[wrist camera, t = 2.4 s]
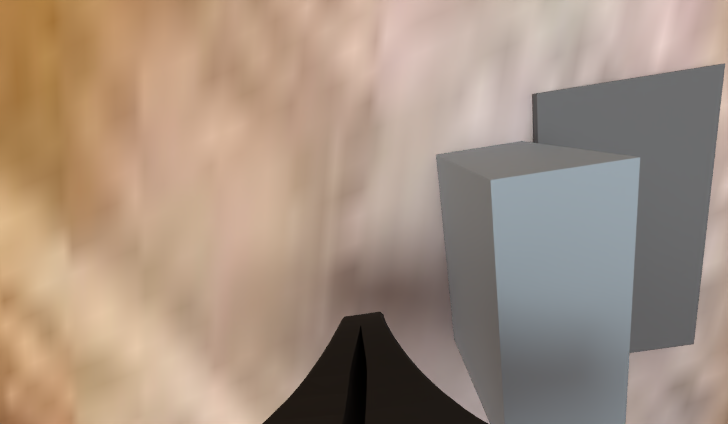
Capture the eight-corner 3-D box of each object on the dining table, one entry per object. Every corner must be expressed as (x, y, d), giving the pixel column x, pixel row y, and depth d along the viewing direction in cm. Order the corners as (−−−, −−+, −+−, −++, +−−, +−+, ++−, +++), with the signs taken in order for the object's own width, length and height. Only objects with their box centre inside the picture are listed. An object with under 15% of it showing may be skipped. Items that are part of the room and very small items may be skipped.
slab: (521, 141, 16) (640, 157, 9) (527, 328, 19) (624, 447, 12) (435, 154, 16) (490, 180, 9) (453, 338, 19) (506, 462, 12)
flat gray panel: (715, 65, 15) (724, 63, 15) (686, 339, 19) (693, 344, 18) (532, 94, 15) (536, 93, 15) (539, 359, 19) (542, 364, 19)
